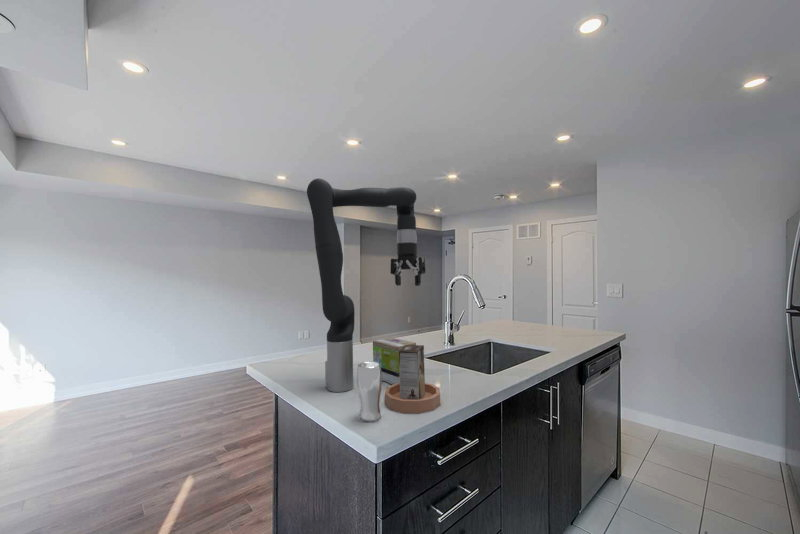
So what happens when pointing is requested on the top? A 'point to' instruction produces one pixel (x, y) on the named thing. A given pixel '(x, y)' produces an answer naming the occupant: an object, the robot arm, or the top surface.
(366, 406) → the beer glass
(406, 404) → the terracotta dish
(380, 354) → the tea box
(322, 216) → the robot arm
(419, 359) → the coffee box
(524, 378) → the top surface
